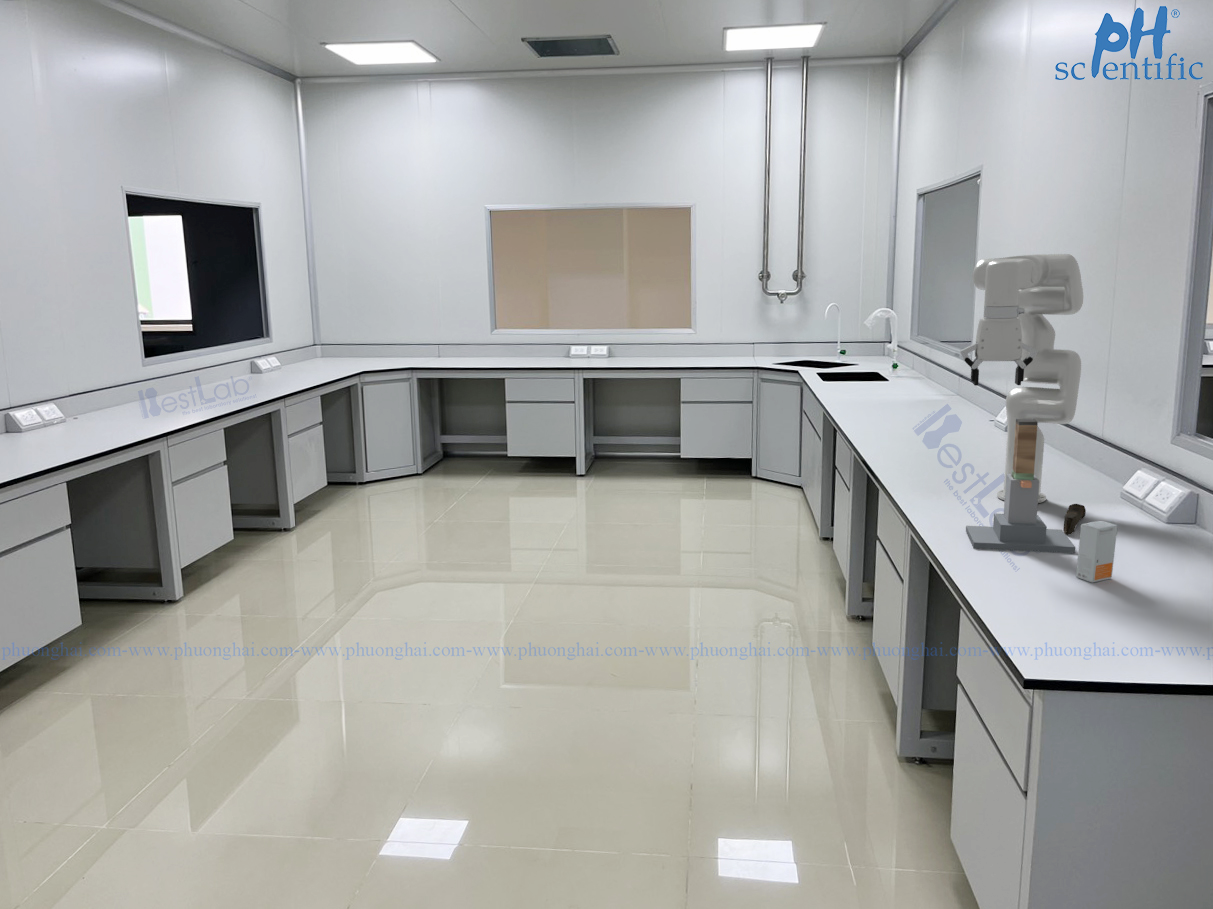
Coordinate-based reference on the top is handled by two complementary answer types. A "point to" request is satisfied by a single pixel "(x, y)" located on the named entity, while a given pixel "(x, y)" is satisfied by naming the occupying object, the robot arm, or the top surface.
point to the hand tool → (1073, 517)
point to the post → (1024, 449)
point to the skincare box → (1096, 551)
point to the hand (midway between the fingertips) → (996, 384)
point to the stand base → (1020, 524)
